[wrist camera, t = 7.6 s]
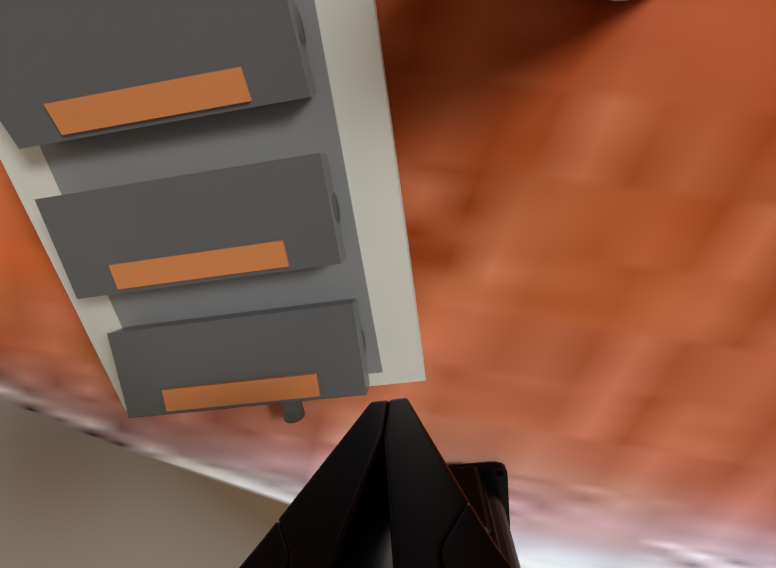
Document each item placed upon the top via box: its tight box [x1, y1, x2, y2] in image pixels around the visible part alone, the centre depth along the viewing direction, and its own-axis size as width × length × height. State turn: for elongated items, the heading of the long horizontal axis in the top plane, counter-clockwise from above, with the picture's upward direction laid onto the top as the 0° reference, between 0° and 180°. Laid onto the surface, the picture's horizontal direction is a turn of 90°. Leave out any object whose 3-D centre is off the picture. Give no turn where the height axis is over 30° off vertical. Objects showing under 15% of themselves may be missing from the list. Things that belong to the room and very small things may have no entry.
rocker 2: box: [34, 153, 346, 299], centre depth 14 cm, size 4×11×2 cm, turn 99°
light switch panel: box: [0, 0, 426, 423], centre depth 17 cm, size 21×16×3 cm
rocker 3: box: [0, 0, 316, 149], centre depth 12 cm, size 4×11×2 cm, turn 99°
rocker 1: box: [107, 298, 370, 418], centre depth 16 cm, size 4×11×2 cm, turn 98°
